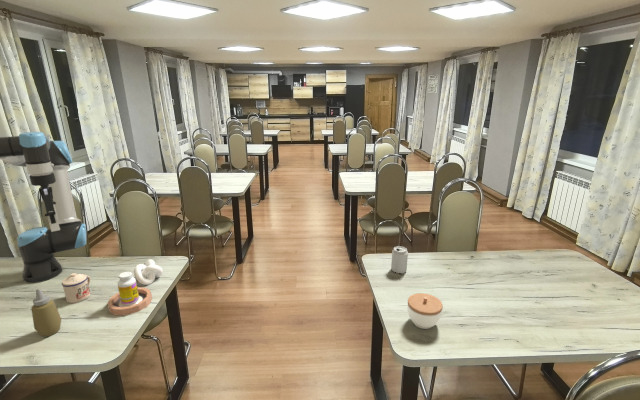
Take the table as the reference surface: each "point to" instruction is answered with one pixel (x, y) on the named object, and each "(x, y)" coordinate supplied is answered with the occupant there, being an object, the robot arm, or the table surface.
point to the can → (399, 259)
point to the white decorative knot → (147, 272)
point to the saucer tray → (121, 309)
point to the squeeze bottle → (45, 315)
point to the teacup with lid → (76, 287)
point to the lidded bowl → (424, 310)
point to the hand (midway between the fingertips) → (55, 225)
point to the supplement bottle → (128, 289)
